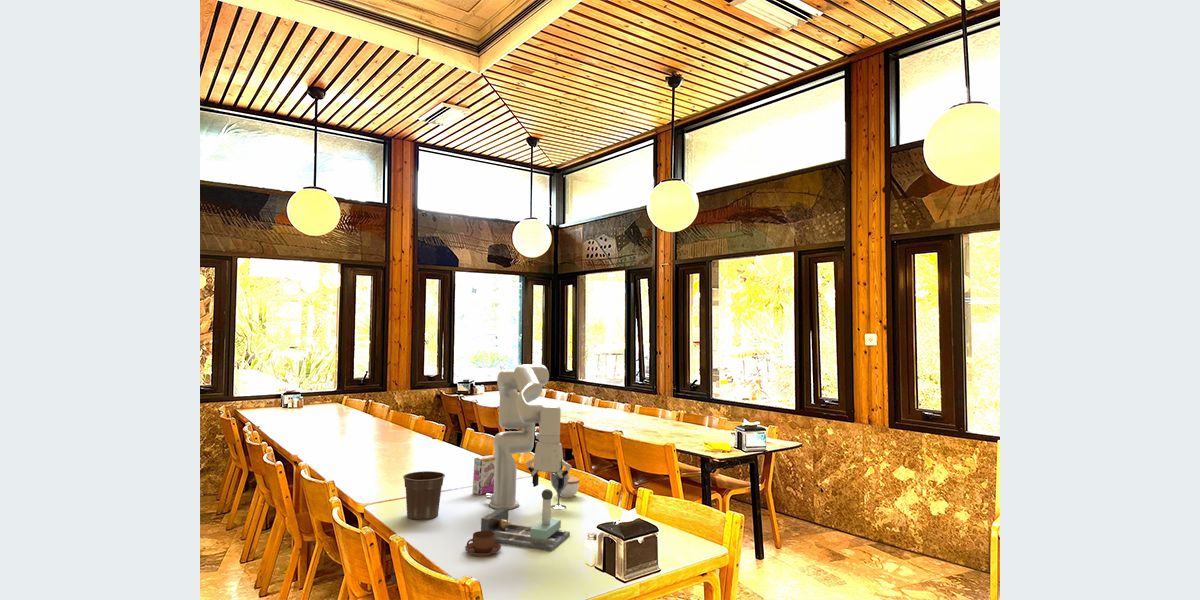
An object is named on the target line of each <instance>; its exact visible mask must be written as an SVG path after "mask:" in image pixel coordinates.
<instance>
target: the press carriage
mask: <svg viewBox="0 0 1200 600" xmlns="http://www.w3.org/2000/svg"><path fill="white" fill-rule="evenodd" d="M541 498H542V514H541V515H542V516H541V520H540V521H539V522H538V523H536V524H535V525H533V526H534V527H532V528H531V530H530V537H531V538H538V539H545V540H546V539H547V538H549V537H550V536H551V535H552V534H554V533H555V532H556V531H558V530H561V525H562V520H561V519H558V518H557V519H556V518H555V519H554V518H551V516H552V515H551V514H552V512H551V511H552V508H551V506H552V498H553V491H552V490H551V489H549V488H546V489H545V488H544V490H542V492H541Z"/></svg>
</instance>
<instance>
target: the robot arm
mask: <svg viewBox="0 0 1200 600" xmlns="http://www.w3.org/2000/svg"><path fill="white" fill-rule="evenodd" d="M549 373H550V372H549V370H548V368H547V367H546V366H545V365H544V364H520V365H517V366H516V367H515V368H513V369H512V368H511V369H502V370H501V371H499V372H498V374H497V379H496V382H497V384H496V385H497V389H498V392H499V407H498V425H499V426H500V428H501V429H503V430H505V429H506V431H501V432H498V433H496V434H495V436H494V438H493V451H494V456H495V472H494V492H493V494H492V493H486V494H485V500H490V502H489V505H488V506H489V507H490V508H492V509H494V510H495V509H496V510H497V509H499V508H501V507H504V508H509V510H513V509H516V508H518V507H519V505H520V502H519V501H517V500H516V498H517V497H516V494H517V471H518V465H517V462H516V460H515V458H514V457H513V456H512V455H516V454H528V453H530V452H532V450H533V449H534V444H535V443H534V442H535V439H536V440H538V442H536V444H535V449H534V457H533V458H532V459H530V460H529V461H526V463H525V464H526V466H527V468H528V471H529V472H530V474H531V475H532V481H531V482H532V485H533V486H532V487H537V486H538V485H539V472H542V473H556V472H557V474H558V475H559V478H558V489H561V488H563V486H564V477H565V476H566V475H567V474H568V473H569V474H570V471H571V469H572V467H573V466H572V465H571V464H570V463H568V462H567V461H565V460H564V454H563V445H562V443H561V440H560V438H561V412H562V411H561V410H562V408H561V407H560V406H559V405H556V404H555V403H552V402H533V401H534V400H536V399H538V398H539V397H540V396H541V394H542V393H543V387H544V386H545V385H547V384H548V383H549V380H550V374H549ZM518 390H519V391H518ZM536 424H539V434H538V435H535V433H536V431H535V430H536ZM515 429H517V431H516V430H515ZM519 429H522V430H519ZM507 430H510V431H507ZM511 430H513V431H511ZM532 464H533V466H532ZM564 467H565V471H564V472H563V470H564V469H563V468H564Z"/></svg>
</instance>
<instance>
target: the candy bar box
mask: <svg viewBox="0 0 1200 600" xmlns="http://www.w3.org/2000/svg"><path fill="white" fill-rule="evenodd" d="M494 472H495V454H493V455H492V454H491V455H484V456H479V457H474V460H473V480H472V494H473V495H477V496H481V495H486V494H491V493H494Z"/></svg>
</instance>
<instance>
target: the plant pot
mask: <svg viewBox="0 0 1200 600" xmlns="http://www.w3.org/2000/svg"><path fill="white" fill-rule="evenodd" d="M445 476H446V475H445V473H443V472H440V471H429V470H428V471H427V470H426V471H415V472H413V471H412V472H409V473H405V474H404V475H402V478H403V480H404V481H403V482H404V488H405V499H406V501H405V503H406V517H407V518H408V519H411V520H416V519H417V520H420V521H422V520H423V521H424V520H430V519H433V518H434V519H435V518H436V517H437V516H439V511H440V504H441V503H440V502H441V494H442V486H443V484H444V478H445Z"/></svg>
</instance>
